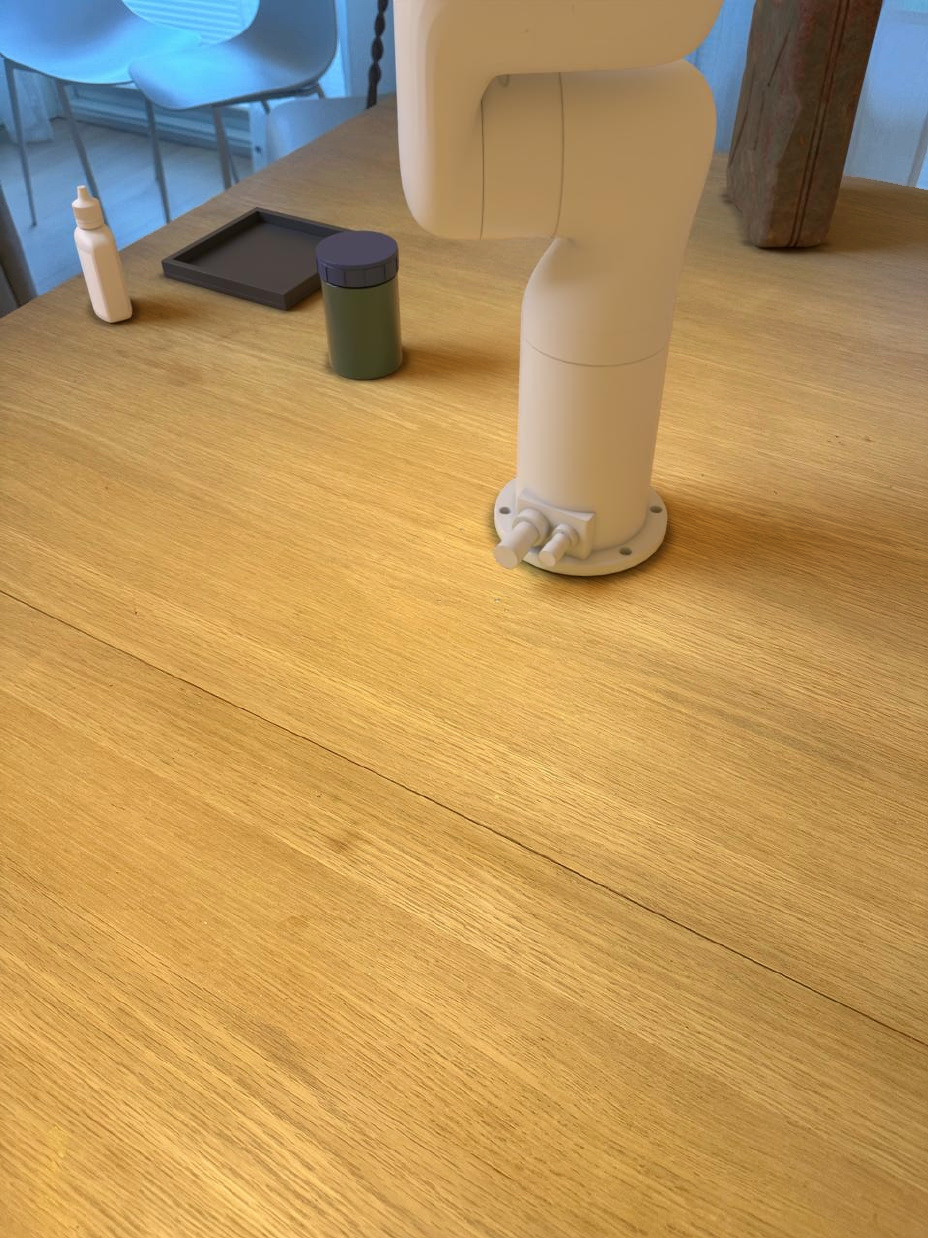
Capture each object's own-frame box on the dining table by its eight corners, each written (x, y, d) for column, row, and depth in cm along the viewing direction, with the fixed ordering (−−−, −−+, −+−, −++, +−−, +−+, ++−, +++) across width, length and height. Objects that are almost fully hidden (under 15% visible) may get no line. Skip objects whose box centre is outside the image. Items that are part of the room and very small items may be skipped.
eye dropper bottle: (83, 325, 101) (48, 199, 92) (97, 297, 105) (64, 175, 96) (129, 324, 101) (98, 198, 92) (141, 297, 105) (112, 174, 96)
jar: (376, 386, 92) (368, 276, 85) (315, 368, 94) (301, 259, 87) (416, 353, 96) (411, 246, 89) (356, 336, 98) (347, 230, 92)
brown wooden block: (831, 254, 110) (896, -19, 93) (751, 255, 110) (801, -18, 93) (788, 184, 124) (838, -64, 107) (717, 186, 124) (755, -63, 107)
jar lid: (369, 294, 86) (368, 272, 84) (301, 276, 88) (299, 254, 87) (414, 261, 90) (413, 240, 89) (348, 245, 93) (346, 224, 91)
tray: (286, 310, 102) (283, 294, 101) (164, 276, 108) (160, 260, 107) (374, 250, 112) (373, 234, 111) (258, 221, 118) (256, 206, 117)
